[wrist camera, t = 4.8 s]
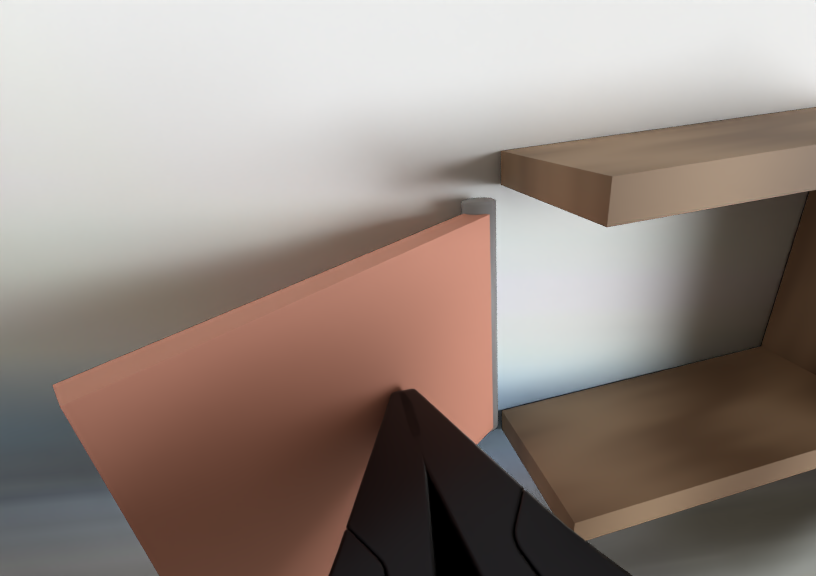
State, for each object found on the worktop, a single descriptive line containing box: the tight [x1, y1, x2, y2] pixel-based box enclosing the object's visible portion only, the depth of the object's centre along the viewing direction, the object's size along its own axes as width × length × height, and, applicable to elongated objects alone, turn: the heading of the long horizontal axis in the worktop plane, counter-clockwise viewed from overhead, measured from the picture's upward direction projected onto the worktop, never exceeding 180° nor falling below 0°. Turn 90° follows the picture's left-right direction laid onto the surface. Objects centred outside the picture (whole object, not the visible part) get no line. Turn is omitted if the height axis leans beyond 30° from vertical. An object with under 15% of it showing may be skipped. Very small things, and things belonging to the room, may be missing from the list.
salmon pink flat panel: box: [52, 198, 498, 576], centre depth 9 cm, size 1×7×9 cm
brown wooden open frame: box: [501, 107, 816, 541], centre depth 10 cm, size 11×9×5 cm
